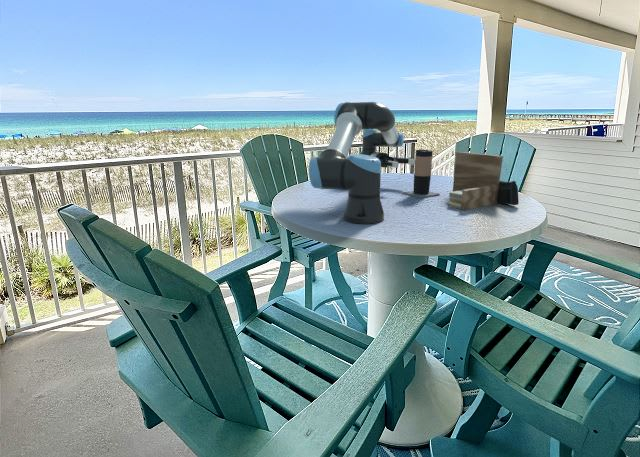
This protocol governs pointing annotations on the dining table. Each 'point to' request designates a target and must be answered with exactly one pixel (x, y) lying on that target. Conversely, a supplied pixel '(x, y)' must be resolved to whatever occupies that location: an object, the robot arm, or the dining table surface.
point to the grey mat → (421, 195)
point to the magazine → (508, 193)
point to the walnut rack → (477, 179)
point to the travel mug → (422, 171)
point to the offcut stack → (456, 198)
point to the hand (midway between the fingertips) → (408, 163)
